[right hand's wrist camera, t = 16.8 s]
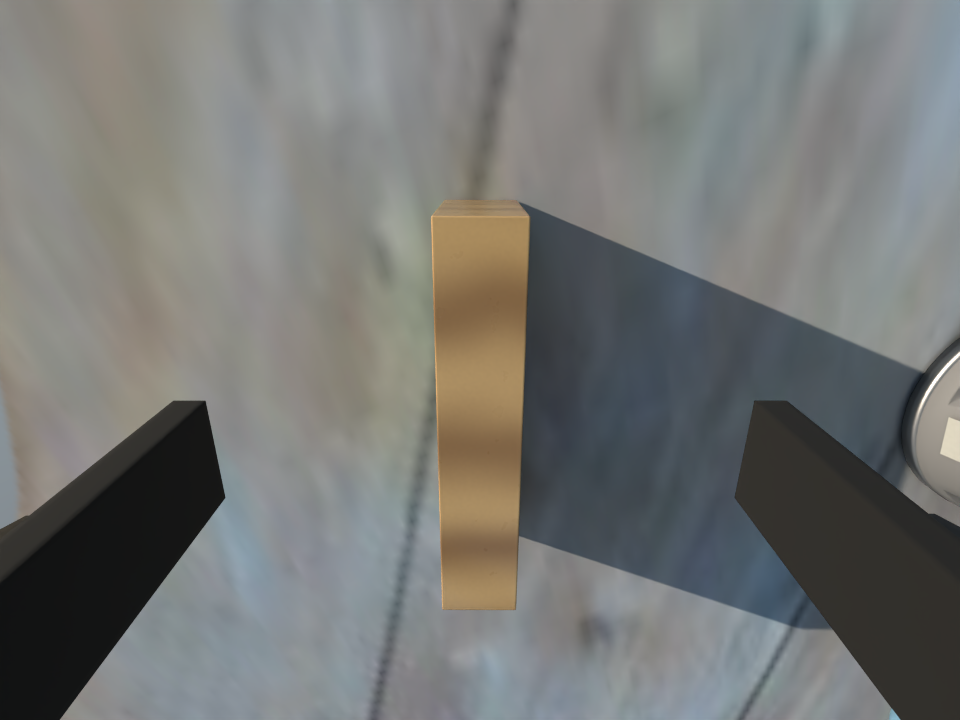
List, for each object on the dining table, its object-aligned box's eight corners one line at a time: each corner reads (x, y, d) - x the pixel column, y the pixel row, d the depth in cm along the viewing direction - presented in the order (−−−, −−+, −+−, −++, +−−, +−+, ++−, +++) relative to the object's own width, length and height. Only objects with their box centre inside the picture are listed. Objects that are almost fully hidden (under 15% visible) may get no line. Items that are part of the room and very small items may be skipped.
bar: (444, 199, 32) (431, 215, 24) (517, 200, 32) (530, 216, 24) (450, 514, 40) (442, 610, 32) (508, 514, 40) (516, 610, 32)
